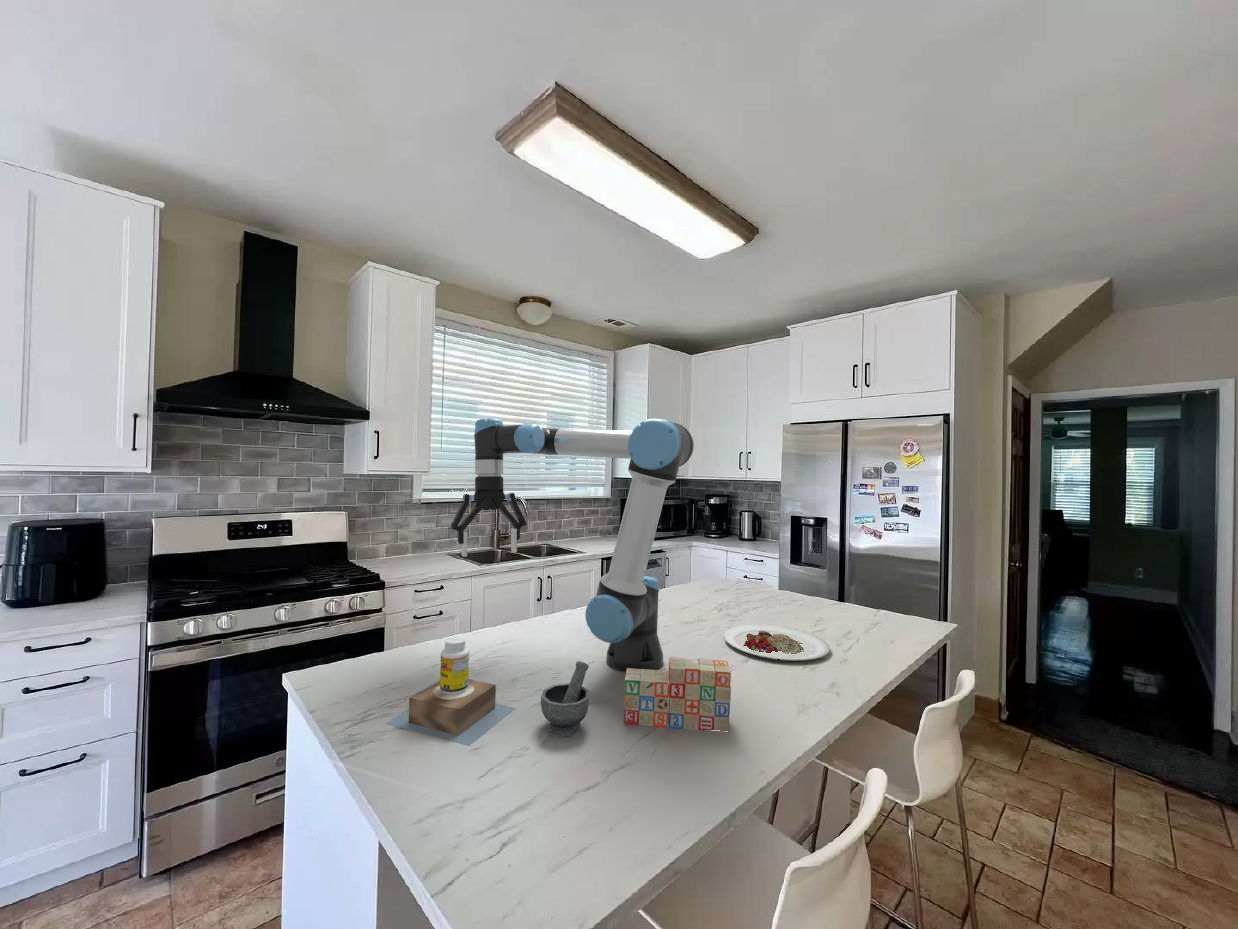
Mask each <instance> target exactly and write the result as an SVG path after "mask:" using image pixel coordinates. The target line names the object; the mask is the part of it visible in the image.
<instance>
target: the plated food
mask: <svg viewBox="0 0 1238 929" xmlns="http://www.w3.org/2000/svg"><path fill="white" fill-rule="evenodd" d="M746 632H759V633H758V635H753V634H750V633H748V634H747V635H746V637H747V640H748V641H747V640H746V641H745V643H744V645H743V646H747V647H748V648H749V649H751V650H753V651H754V650H755V651H758V650H759V652H764V651H765V652H766V653H771V652H772V651H775V652H778V651H782V652H783V653H785V654H786V653H787V654H789V653H791V654H797V653H800V652H802V651H803V652H804V648H803V647H802V646H801V645H800V644H803V643H801V642H799V641H796V640H793V639H792V638H790V637H789V636H787V635H784V634H779V633H785V634H788V635H792V636H795V637H797V638H803V639H805V640H807V641H808V642H810V643H811V644H814V645H815V647H816V650H817V652H816V653H815V654H814V655H810V654H809V656H808V657H801V658H781V657H772V656H767V655H762V654H758V653H755V652H752V651H749V650H747V649H744V648H742V647H741V646H739V645H738V644H737V643H736V641H735V639H736V638H737V637H738V636H739V635H741V634H743V633H746ZM769 632H779V633H778V634H772V635H773V636H772V635H771V634H770V633H769ZM723 638H724V640H725V642H726V643H728V645H730V646H731V647H733V648H735V649H737V650H739V651H741V652H744V653H746V654H749V655H754V656H756V657H761V658H765V657H766V659H770V658H771V660H777V659H780V660H779V661H808V660H809V661H810V660H816V659H820V658H823V657H825V656H826V655H828V654H829V653H830V650H831V648H830V644H828V642H827V641H826V640H825V639H823V638H822V637H820V636H818V635H816V634H814V633H810V632H807V631H805V630H800V629H797V628H792V627H789V626H781V625H773V624H745V625H743V624H742V625H737V626H734V627H731V628H730V629H728V630H726V631H725V632H724V636H723ZM798 642H799V643H798ZM801 650H802V651H801ZM806 650H807V649H806ZM809 650H813V649H809ZM803 656H804V655H803ZM805 656H806V655H805Z"/></svg>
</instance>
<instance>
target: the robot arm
mask: <svg viewBox="0 0 1238 929" xmlns="http://www.w3.org/2000/svg"><path fill="white" fill-rule="evenodd" d="M474 425H475V426H474V433H473V436H474V452H475V454H474V455H475V456H474V457H475V458H474V475H476V476H475V478H474V494H468V493H464V494H462V500H461V504H460V506H459V508H458V510H457V511H456V514H455V516H454V518H453V520H452V522H451V524H450V529H451V530H453V531H454V530H455V531H456V532H457V543H458V544H459V545H461V557H463V558H467V557H468V532H467V531H466V529H467V528H468V526H469V525H470V524H471V522H472V521H473V520H474V519H475V517H476V516H478V514H479V513H480V511H489V510H492V511H496V510H498V511H499V512H501V514H502V515H503V516H504V517H505V518H506V520H507V521H508V522H509V523H510V525H512V528H510V551H511V553H515V554H516V553H517V552H518V542H517V541H519V540H520V539H521V528H522V527H525V526H526V525H527V521H526V519H525V516H524V515H523V513H522V511H521V509H520V507H519V504H518V503H517V501H516V494H515V493H514V492H509V493H506V494H505V491H504V477H503V476H502V475H503V474H504V454H536V455H537V454H538V455H546V456H547V455H549V456H555V455H556V456H559V455H560V456H570V457H571V456H572V457H573V456H574V457H592V458H612V459H625V460H626V459H628V460H629V464H628V468H627V471H628V472H629V475H630V476H631V482H630V487H629V490H628V494H627V497H626V498H627V499H626V501H625V506H624V510H623V514H622V519H621V522H620V526H619V529H618V534H617V538H616V542H615V546H614V550H613V554H612V556H611V557H612V558H611V561H610V566H609V569H608V572H607V573H605V574H604V575H602V576H601V577H600V579H599V584H598V587H597V589H596V590H597V591H596V594H595V596H594V597H592V598H591V599H590V601H589V602H588V604H587V605H586V609H585V613H584V616H585V621H586V625H587V627H588V628H589V631H590V633H591V634H592V635H593V636H594V637H595V638H597V640H599V641H602V642H604V643H608V644H609V645H608V648H607V652H606V664H607V665H608V666H610V667H611V668H613V669H614V670H615V669H616V670H618V671H621V672H626V670H627V668H631V669H647V670H658V669H660V668H661V667H662V666H663V664H664V654H663V649H662V645H661V642H660V639H659V636H658V617H659V616H658V614H659V592H660V589H659V580H658V579H657V578H656V577H653V576H649V575H645V574H646V570H647V567H648V563H649V560H650V556H651V552H652V551H651V550H652V547H653V543H654V540H655V536H656V533H657V528H658V524H659V520H660V517H661V514H662V513H661V512H662V509H663V505H664V501H665V497H666V494H667V491H668V487H669V486H671V485H673V484H675V483H676V480H677V478H678V473H679V469H680V467H682V466H684V465H686V463H687V462H688V461H689V460H690V459H691V457H692V455H693V453H694V445H695V444H694V439H693V436H692V434H691V433H690V431H689V430H688V429H687V428H686V427H685V426H683V425H682V424H679V423H677V422H673V421H670V420H667V419H664V418H659V417H658V418H649V419H646V420H643V421H641V422H640V423H639V424H637V425H636V426H635V427H634V428H633V430H622V429H621V430H618V429H615V430H613V429H612V430H610V429H585V428H584V429H581V428H580V429H579V428H576V429H575V428H550V427H549V428H547V427H541V426H540V425H539V424H536V423H523V424H511V425H504V422H503V420H501V419H499V418H478V419H477V420H476V421H475V423H474ZM472 500H473V501H474V502H475V503H476V504H475V505H474V507H473V508H472V510H471V511H470V512H469V513H468V514H467V516H466V517H465V518H464V519H463V517H464V514H465V512H466V510H467V508H468V506H469V504H470V503H471V502H472ZM505 500H506V501H507V502H508V503H509V505H510V507H511V510H512V511H513V514H514V515H515V517H514V516H513V515H512V514H511V512H510V511H509V510H508V509H507V507H506V506H505V505H504V504H503V502H504V501H505ZM462 519H463V521H462ZM461 521H462V522H461Z"/></svg>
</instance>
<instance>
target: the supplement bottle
mask: <svg viewBox="0 0 1238 929" xmlns="http://www.w3.org/2000/svg"><path fill="white" fill-rule="evenodd" d="M469 666H470V649H469V648H468V647H467V646H466V638H464V637H462V636H455V637H454V636H453V637H449V638H447V639H445V643H444V648H443V649H442V650H441V652H440V670H439V674H440V676H439V681H440V690H441V692H443V693H445V694H449V695H453V694H459V693H462V692H464V691H465V690H466V689H467V688H468V679H469V677H470V676H469V671H470V670H469V668H470V667H469Z"/></svg>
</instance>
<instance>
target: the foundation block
mask: <svg viewBox="0 0 1238 929" xmlns="http://www.w3.org/2000/svg"><path fill="white" fill-rule="evenodd" d="M496 691H497V685H496V684H493V683H488V682H484V681H480V680H475V679H470V678H468V688H467V689H466V690H465V691H464V692H462V693H459V694H453V695H449V694H445V693H443V692H441V690H440V680H438V681H436V682H435V683H433V684H431V685H430V686H427V687H426V688H423V689H422V690H421V691H418V692H417V693H415V694H413V695H411V696H409V698H408V699H409V702H408V706H409V707H408V710H409V723H412V724H415V725H419V726H423V727H427V728H431V729H435V730H439V731H442V732H446V733H450V734H454V735H458V736H459V735H460V734H461V733H463V732H464V731H465V730H467V729H468V728H469V727H471V726H472V725H473V724H475V723H476V722H477V721H479V720H480V719H482V718H483V717H484V716H486V715H487V714H488V713H490V712H491V711H492V710H494V709H495V703H496V694H497V692H496Z"/></svg>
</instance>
